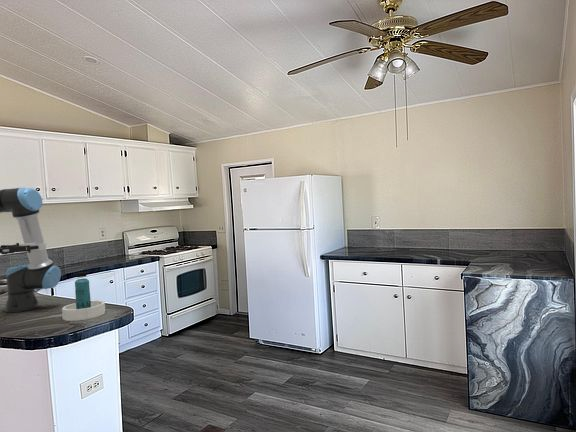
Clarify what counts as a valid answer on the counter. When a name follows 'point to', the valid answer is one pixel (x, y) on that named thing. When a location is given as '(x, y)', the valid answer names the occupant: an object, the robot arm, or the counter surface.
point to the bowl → (83, 311)
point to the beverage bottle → (82, 292)
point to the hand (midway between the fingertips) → (40, 245)
